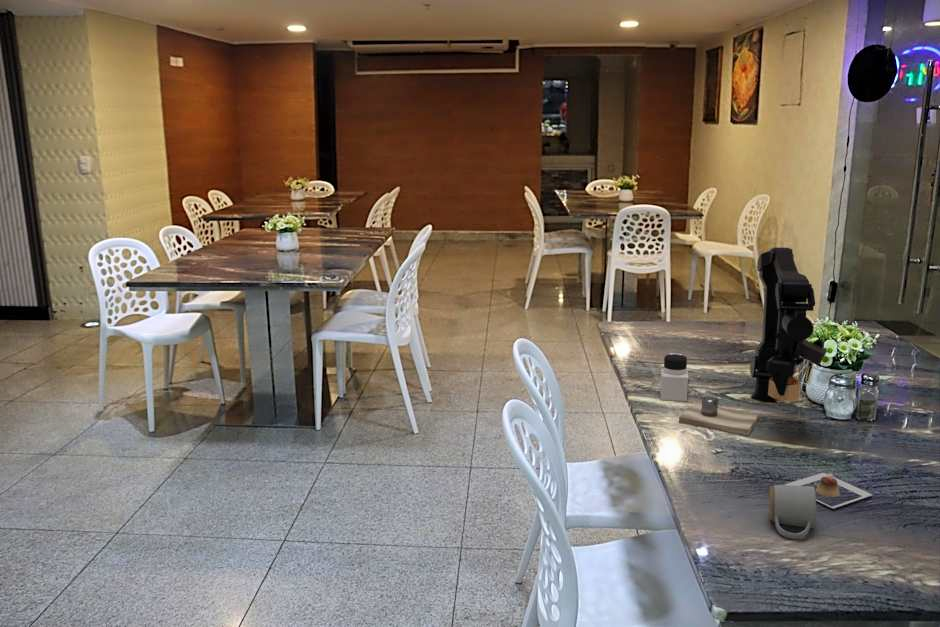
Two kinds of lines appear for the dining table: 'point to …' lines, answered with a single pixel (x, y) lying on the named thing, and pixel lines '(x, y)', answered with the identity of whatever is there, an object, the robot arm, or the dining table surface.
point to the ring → (790, 392)
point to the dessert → (830, 487)
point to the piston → (709, 406)
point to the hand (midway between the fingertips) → (784, 390)
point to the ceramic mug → (792, 508)
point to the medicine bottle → (674, 378)
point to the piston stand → (720, 419)
